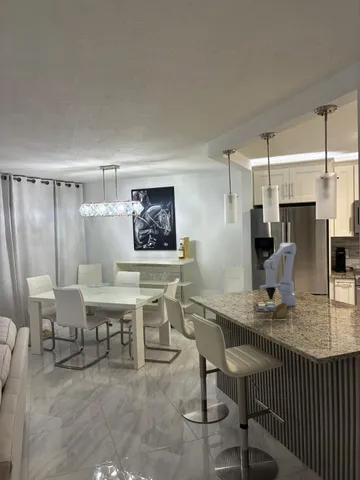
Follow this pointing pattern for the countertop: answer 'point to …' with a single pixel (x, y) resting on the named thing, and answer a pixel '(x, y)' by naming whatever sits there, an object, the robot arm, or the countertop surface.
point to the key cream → (261, 306)
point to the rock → (280, 312)
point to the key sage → (270, 304)
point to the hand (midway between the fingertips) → (270, 298)
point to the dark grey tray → (264, 309)
